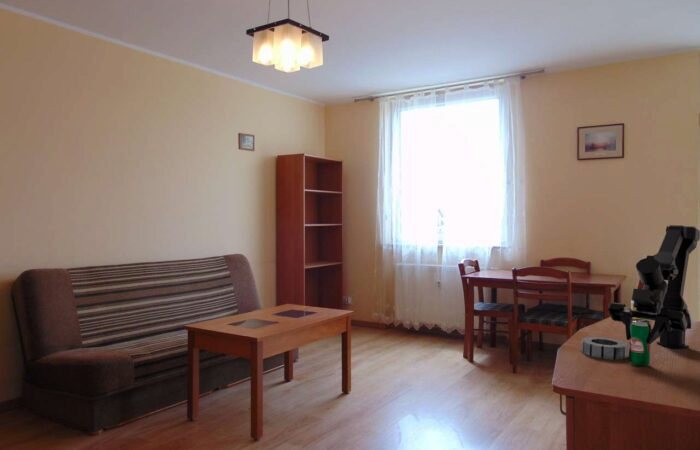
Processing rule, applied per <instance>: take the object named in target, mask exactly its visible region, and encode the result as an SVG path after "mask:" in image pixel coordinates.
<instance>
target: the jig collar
mask: <svg viewBox="0 0 700 450" xmlns="http://www.w3.org/2000/svg"><path fill="white" fill-rule="evenodd" d="M580 348H581V351H580V352H581V353H582V354H583V355H586V356H588V357H592V358H594V359H595V358H596V359H600V360H601V359H603V360H610V361H613V360H615V361H618V360H619V361H620V360H626V359H627V358H629V343H627V342H625V341H623V340H620V339H616V338H609V337H601V336H596V337H595V336H591V337H590V336H587V337H583V338H581V347H580Z"/></svg>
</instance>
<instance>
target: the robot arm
mask: <svg viewBox="0 0 700 450" xmlns="http://www.w3.org/2000/svg"><path fill="white" fill-rule="evenodd" d="M699 241H700V229H698V228H697V227H696V226H691V225H684V224H683V225H682V224H681V225H676V224H669V225H667V226H666V228H665V235H664V238H663V239H662V242H661V244H660V247H659V249H658V251H657V253H656V254H654V255H650V254H649V255H646V257H645V258H642V259H640V260H639V261H638V262H636V264H635V268H636V272H637V274H638V277H639V279H640V283H641V284H643V287H642V289H641V288H633V290H632V296H631V301H634V304H633V305H634V307H636V310H632V309H631V307H627V306H626V304H625V303H620V302H610V303H609V304H608V306H607V311H608V313H609V315H610V318H611V320H613V321H615V322H620V323H621V322H622V324H623V325H624V327H625V328H624V329H625V337H626V340H627V341H630V323H631V322H632V319H633V317H636V318H639V319H646V320H652V321H654V325H653V326H652V328H651V334H650V336H649V340H648V343H649V344H651V345H652V343H654V342H655V341H656V340H657V339H658V338H659V341H656V344H658V345H661V346H664V347H667V348H670V349H680V348H690V345H688V344H686V330H689V329H690V330H691V329H692V319H691V314H690V311H689V309H688V305H687V302H686V301H685V299H684V291H685V284H686V278H687V271H688V263H689V259H690V254H691V253H692V252H693V251H694V250H695V249H696V248H697V245H698V242H699ZM666 281H667V282H666Z"/></svg>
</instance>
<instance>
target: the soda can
mask: <svg viewBox="0 0 700 450" xmlns="http://www.w3.org/2000/svg"><path fill="white" fill-rule="evenodd" d="M651 331H652V324H651V325H650V321H647V320H643V319H632V322H631V323H630V339H629V340H628V341H629V343H628V361H629V363H630V364H631V365H633V366H637V367H649V366H650V364H651V348H652V347H651V345H652V343H651V344H649V343H648V340H649V336H650V334H651Z"/></svg>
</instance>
